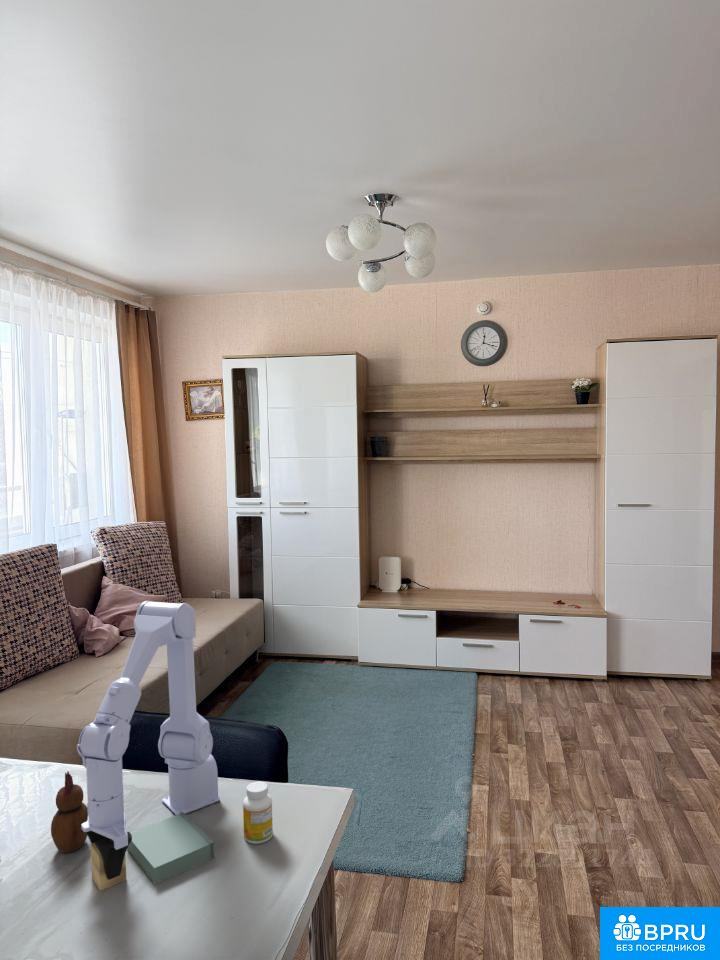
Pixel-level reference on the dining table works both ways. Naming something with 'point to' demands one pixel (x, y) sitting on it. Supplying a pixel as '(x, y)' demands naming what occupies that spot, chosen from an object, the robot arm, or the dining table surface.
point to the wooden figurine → (69, 817)
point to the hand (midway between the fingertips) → (108, 869)
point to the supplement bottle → (257, 813)
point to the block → (103, 870)
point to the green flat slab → (170, 847)
